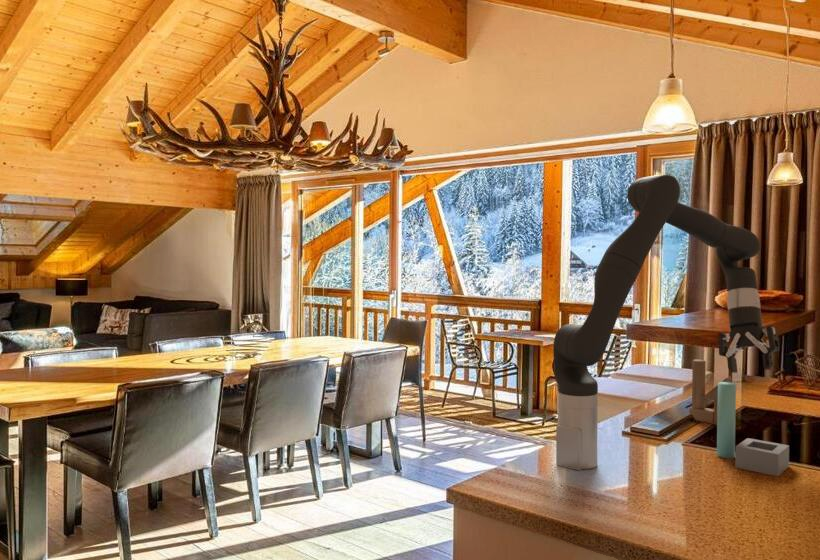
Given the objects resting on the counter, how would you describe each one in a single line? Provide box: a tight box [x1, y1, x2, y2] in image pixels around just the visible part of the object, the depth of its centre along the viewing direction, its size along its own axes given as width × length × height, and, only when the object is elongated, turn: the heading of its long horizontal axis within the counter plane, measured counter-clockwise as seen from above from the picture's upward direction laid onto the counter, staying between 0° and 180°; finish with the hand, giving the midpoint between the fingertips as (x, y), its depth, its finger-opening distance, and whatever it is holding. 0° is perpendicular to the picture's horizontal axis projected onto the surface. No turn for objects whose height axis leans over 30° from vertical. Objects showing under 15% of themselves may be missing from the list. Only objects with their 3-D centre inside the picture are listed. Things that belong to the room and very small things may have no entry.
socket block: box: [734, 437, 790, 477], centre depth 152 cm, size 9×9×5 cm
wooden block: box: [688, 359, 732, 426], centre depth 192 cm, size 4×11×18 cm, turn 42°
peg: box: [716, 381, 737, 459], centre depth 160 cm, size 4×4×18 cm
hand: (750, 371), depth 163 cm, fingers open, 8 cm apart
